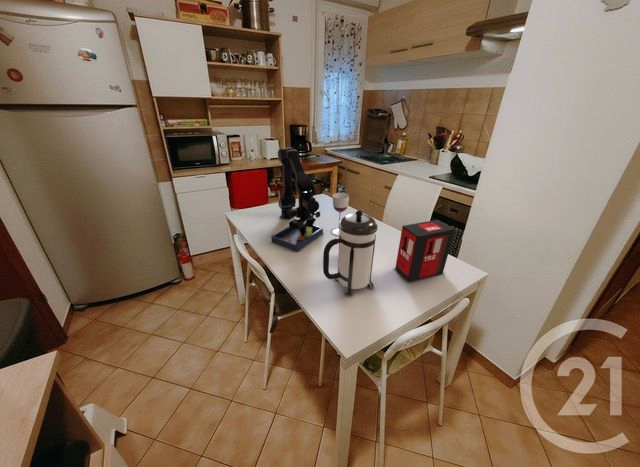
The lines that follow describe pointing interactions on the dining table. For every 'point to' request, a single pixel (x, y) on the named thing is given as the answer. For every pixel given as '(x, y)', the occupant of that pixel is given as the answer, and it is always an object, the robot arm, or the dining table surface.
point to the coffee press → (353, 251)
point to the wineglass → (340, 206)
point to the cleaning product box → (423, 249)
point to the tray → (295, 238)
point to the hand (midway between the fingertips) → (305, 234)
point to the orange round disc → (300, 238)
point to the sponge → (307, 232)
